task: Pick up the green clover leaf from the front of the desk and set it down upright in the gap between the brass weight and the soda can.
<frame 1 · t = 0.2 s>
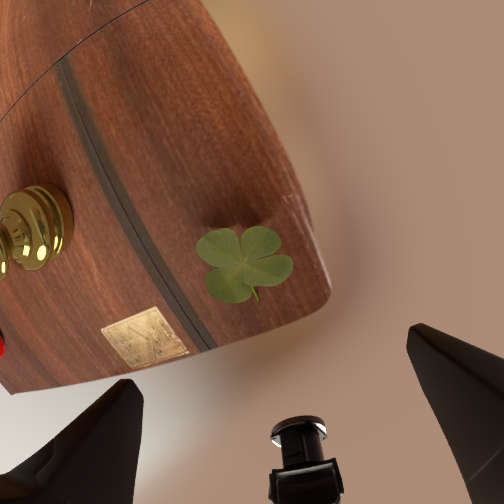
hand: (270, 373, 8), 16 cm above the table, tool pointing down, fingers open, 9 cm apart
green clover leaf: (236, 259, 24), on the table
brass weight: (49, 218, 22), on the table
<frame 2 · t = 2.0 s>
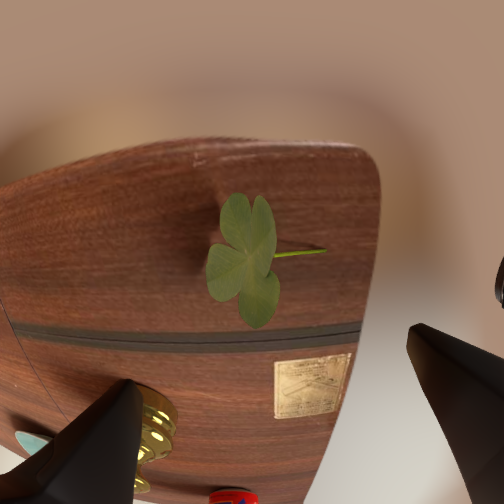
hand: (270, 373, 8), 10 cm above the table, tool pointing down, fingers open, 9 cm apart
green clover leaf: (256, 253, 17), on the table
brass weight: (142, 404, 23), on the table
soda can: (233, 491, 32), on the table
plate: (71, 457, 30), on the table
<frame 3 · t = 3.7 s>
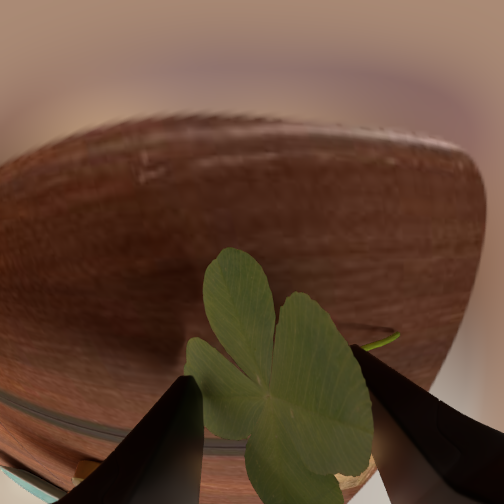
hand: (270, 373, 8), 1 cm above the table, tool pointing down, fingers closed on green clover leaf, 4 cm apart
green clover leaf: (276, 346, 9), on the table, touching gripper
brass weight: (121, 478, 14), on the table
plate: (58, 492, 22), on the table
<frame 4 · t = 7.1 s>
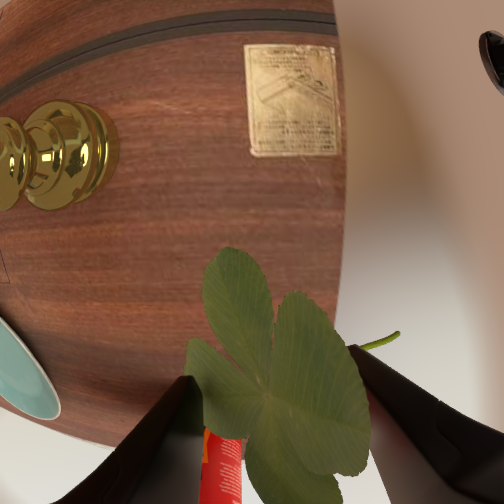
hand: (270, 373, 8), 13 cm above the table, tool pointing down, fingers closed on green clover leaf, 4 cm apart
green clover leaf: (276, 345, 9), point 12 cm above the table, touching gripper
brass weight: (81, 151, 17), on the table
soda can: (205, 405, 27), on the table
plate: (7, 353, 25), on the table
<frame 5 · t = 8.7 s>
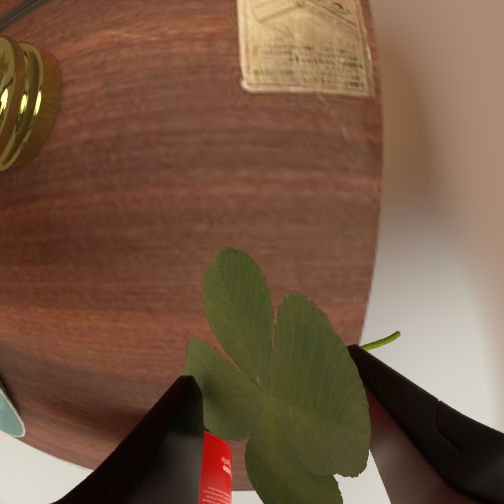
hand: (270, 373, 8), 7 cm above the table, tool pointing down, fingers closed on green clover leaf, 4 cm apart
green clover leaf: (276, 346, 9), point 5 cm above the table, touching gripper
brass weight: (22, 107, 10), on the table
soda can: (186, 438, 19), on the table
when the fingers open (1 cm above the table, at t = 10.4 s): green clover leaf stays where it is, on the table.
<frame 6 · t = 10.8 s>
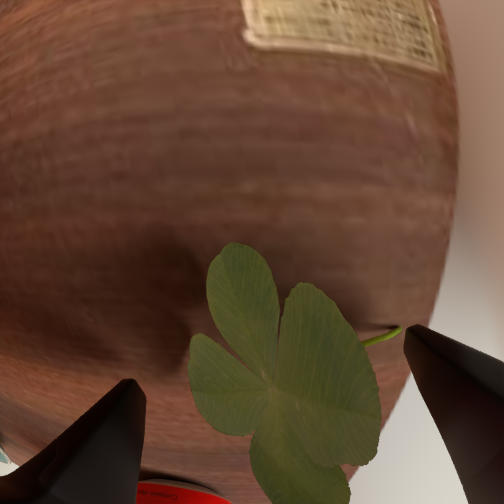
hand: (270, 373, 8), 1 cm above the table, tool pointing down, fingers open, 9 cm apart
green clover leaf: (279, 341, 9), on the table
soda can: (180, 489, 14), on the table
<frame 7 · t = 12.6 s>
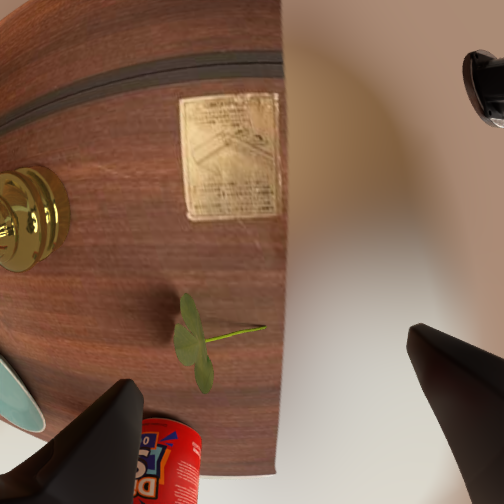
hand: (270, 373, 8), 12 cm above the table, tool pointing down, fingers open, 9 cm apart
green clover leaf: (211, 328, 22), on the table
brass weight: (41, 209, 17), on the table
soda can: (170, 429, 27), on the table
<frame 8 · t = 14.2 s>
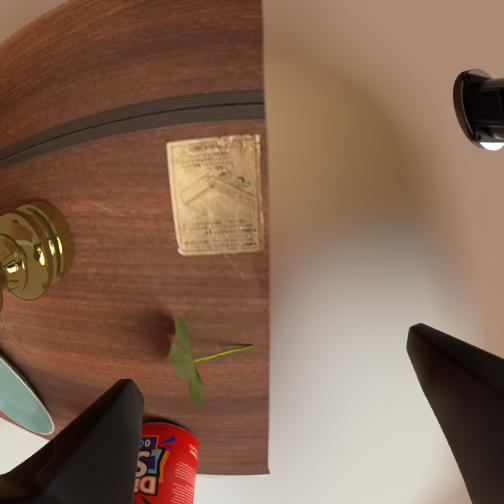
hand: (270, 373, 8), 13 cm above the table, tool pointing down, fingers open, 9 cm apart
green clover leaf: (203, 346, 24), on the table
brass weight: (46, 239, 20), on the table
soda can: (169, 432, 29), on the table
plate: (7, 379, 27), on the table
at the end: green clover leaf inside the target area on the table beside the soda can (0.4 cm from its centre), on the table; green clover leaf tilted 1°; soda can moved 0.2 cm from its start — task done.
